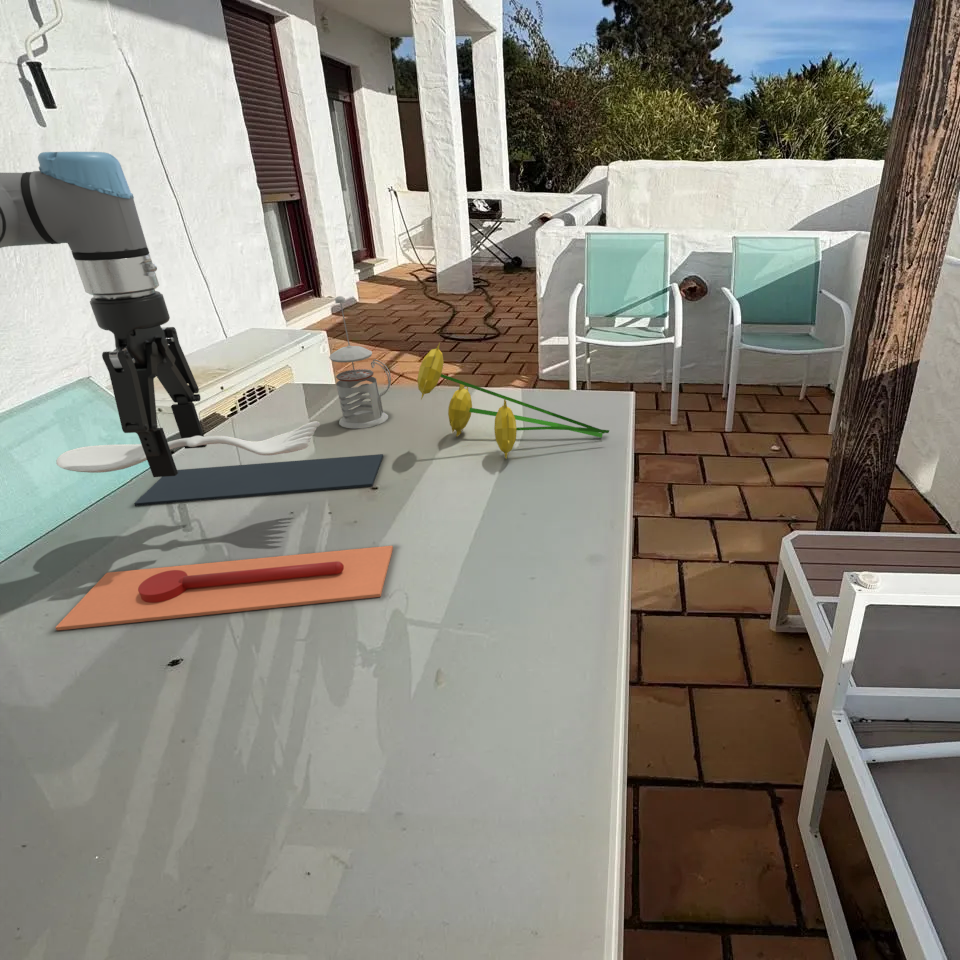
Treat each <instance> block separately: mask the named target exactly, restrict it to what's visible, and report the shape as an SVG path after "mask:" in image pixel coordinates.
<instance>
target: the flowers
mask: <svg viewBox="0 0 960 960" xmlns="http://www.w3.org/2000/svg"><path fill="white" fill-rule="evenodd" d="M440 345H441V342H438V345H437V346H436V348H431V349H430V351H428V352H427V354H426V355H424V357H423V359H422V361H421V363H420V366H419V369H418V373H417V374H418V375H417V389H418V391H419V392H420V393H421V398H420V401H422V400H423V398H424V395H427V394H430V393H431V392H432V391H433V390H434V389H435V388H436V387H437V385H438V384H439V381H440V378H442V379H445V380H448V381H450V382H453V383H456V384H459V387H458V389H457V390H455V391H454V392H453V395H452V397H451V399H450V400H449V404H448V409H447V415H448V422H449V426H450V427H451V432H452V434H454V432H455V431H456V433H455V434H456V438H458V437H459V436H460V435H461V434H462V430H464V429H465V428H466V427H467V425H468V423H469V421H470V419H471V417H472V413H473V414H479V415H485V416H490V417H494V427H493V428H494V429H493V430H494V438H495V442H496V445H497V446H498V448H499V451H501V452H503V455H504V458H505V460H506V461H507V458H508V454H509V453H510V452H511V451H512V450H513V448H514V446H515V443H516V441H517V432H518V431H542V430H544V431H545V430H552V431H556V430H557V431H571V432H575V433H579V434H584V435H588V436H593V437H597V438H601V439H602V438H603V434H609V433H610V429H600V428H599V427H595V426H593V425H590V424H587V423H584V422H580V421H578V420H575V419H573V418H569V417H566V416H563V415H561V414H557V413H555V412H553V411H549V410H546V409H544V408H540V407H538V406H535V405H532V404H529V403H527V402H523V401H521V400H518V399H515V398H512V397H509V396H507V395H503V394H501V393H498V392H494V391H492V390H489V389H487V388H484V387H481V386H479V385H478V386H477V385H475V384H472V383H469V382H466V381H463V380H461V379H457V378H455V377H452V376H449V375H446V374H443V367H444V363H445V362H444V356H443V355H444V354H443V352H442V351H441V350H440ZM465 387H466V388H465ZM469 388H471V389H474V390H476V391H480V392H482V393H485V394H488V395H491V396H494V397H497V398H499V399H503V405H502V406H501V407H499V408H498V410H497V411H495V410H486V409H481V408H474V407H473V401H472V396H471V393H470V392H469ZM507 401H508V402H511V403H514V404H517V405H520V406H523V407H525V408H528V409H531V410H535V411H537V412H539V413H540V412H541V413H543V414H546V415H548V416H551V417H554V418H558V419H560V420H563V421H566V422H569V423H572V424H575V425H577V426H572V425H567V424H563V423H558V422H553V421H548V420H543V419H537V418H533V417H527V416H523V415H517V414H514V413H513V410H512V409H511V407H509V406H507V405H508V403H507ZM517 421H521V422H526V423H532V424H536V425H542V426H524V427H523V426H522V427H517ZM579 426H580V427H579Z"/></svg>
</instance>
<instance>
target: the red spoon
mask: <svg viewBox="0 0 960 960" xmlns="http://www.w3.org/2000/svg"><path fill="white" fill-rule="evenodd" d="M343 569H344V566H343V564H342V563H341V562H339V561H336V562H325V563H315V564H305V565H294V566H284V567H274V568H263V569H253V570H243V571H232V572H222V573H212V574H201V575H191V576H188V575H187V573H186V572H184V571H181V570H170V571H165V572H161V573H158V574H156V575H153V576H151V577H149V578H148V579H146V580H145V581H143V582H142V583H141V584H140V586H139V587H138V591H139V594H140V596H141V599H142V600H143V601H145V602H149V603H157V602H163V601H166V600H170V599H172V598H175V597H177V596H179V595H180V594H182V593H183V592H185V591H186V590H187V589H191V588H201V587H211V586H221V585H231V584H242V583H252V582H262V581H272V580H282V579H292V578H302V577H312V576H322V575H332V574H339V573H341V572H342V571H343Z"/></svg>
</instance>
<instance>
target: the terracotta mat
mask: <svg viewBox="0 0 960 960" xmlns="http://www.w3.org/2000/svg"><path fill="white" fill-rule="evenodd" d="M393 550H394V546H393V545H383V546H374V547H362V548H351V549H342V550H341V549H340V550H332V551H321V552H320V551H319V552H311V553H300V554H299V553H298V554H290V555H288V554H287V555H279V556H278V555H277V556H267V557H258V558H257V557H256V558H247V559H246V558H245V559H236V560H226V561H215V562H205V563H195V564H183V565H173V566H162V567H151V568H141V569H132V570H119V571H110V572H109V571H107V572H106V573H105V574H104V575H103V576H102V577H101V578H100V579H99V580H98V582H96V583H95V585H94V586H92V588H91V589H90V590H89V591H88V592H87V593H86V594H85V595H84V596H83V597H82V598H81V599H80V600H79V602H78V603H77V604H76V605H74V607H73V608H72V609H71V610H70V611H69V612H68V613H67V614H66V615H65V616H64V618H63V619H62V620H61V621H60V622H59V623H58V624H57V625H56V626H55V630H56V631H66V630H76V629H85V628H87V629H88V628H96V627H105V626H106V627H107V626H113V625H124V624H132V623H145V622H152V621H153V622H154V621H162V620H173V619H182V618H191V617H201V616H211V615H219V614H229V613H230V614H231V613H238V612H239V613H240V612H250V611H258V610H259V611H260V610H267V609H278V608H287V607H298V606H304V605H305V606H306V605H315V604H316V605H317V604H325V603H336V602H344V601H345V602H346V601H353V600H364V599H373V598H381V596H382V593H383V589H384V585H385V581H386V577H387V574H388V570H389V566H390V563H391V562H390V561H391V559H392V558H391V557H392V555H393ZM336 561H339V562H341V563H342V564H343V566H344V569H343V571H342V572H341V573H339V574H332V575H322V576H312V577H302V578H292V579H282V580H272V581H262V582H252V583H242V584H231V585H221V586H211V587H201V588H191V589H187V590H186V591H185V592H183V593H182V594H180V595H179V596H177V597H175V598H172V599H170V600H166V601H163V602H157V603H149V602H145V601H143V600H142V599H141V596H140V594H139V591H138V587H139V586H140V584H141V583H142V582H143V581H145V580H146V579H148V578H149V577H151V576H153V575H156V574H158V573H161V572H165V571H170V570H181V571H184V572H186V573H187V575H188V576H191V575H201V574H212V573H222V572H232V571H243V570H253V569H263V568H274V567H284V566H294V565H305V564H315V563H325V562H336Z"/></svg>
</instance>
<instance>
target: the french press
mask: <svg viewBox="0 0 960 960" xmlns="http://www.w3.org/2000/svg"><path fill="white" fill-rule="evenodd" d="M334 302H335V304H340V309H341V314H342V319H343V324H344V329H345V330H344V331H345V334H346V339H347V340H346V341H347V343H348V344H347V345H346V346H343V347H341V348H339V349H337V350H335V351H334V352H332V353H331V354H330V355H329V357H328V359H329V360H330V361H332V362H334V363H351V364H352V369H349V370H345V371H341V372H338V373H337V374H336V376H335V379H337V380H338V381H337V382H336V383H335V386H336V390H337V396H338V400H339V405H340V409H341V414H342V417H341V418H340V419H339V422H338V425H339V426H341V427H343V428H347V429H366V428H370V427H371V428H372V427H374V426H379V425H381V424H383V423H385V422H386V421H387V420H388V419H389V415H388V414H387V413H386V412H384V409H383V402H382V397H383V396H385V395H386V394H387V392H388V391H389V390H390V388H391V384H392V377H391V372H390V369H389V368H388V367H387V365H386V364H385V363H383V361H381V360H378V359H376V358H375V359H373V360H372V361H371V363H370V365H371V368H372V369H374V368H375V365H378V366H380V367H381V368H382V369H383V371H384V372H385V374H386V376H387V387H386V389H385V390H384V391H382V392H379V386H378V382H377V378H376V377H374V371H373V370H372V369H366V368H358V369H356V368H355V366H354V363H355V362H361V361H364V360H367V359H369V358H371V357H372V356H373V351H372V350H370V349H368V348H366V347H364V346H359V345H350V340H349V334H348V329H347V324H346V320H345V315H344V309H343V305H342V304H344V303H346V302H347V301H346V298H345V297H344V296H342V295H337V296H336V297H335V298H334ZM366 381H367V382H370V383H363V382H366ZM360 383H362V384H360ZM358 384H360V385H359V386H356V385H358ZM355 386H356V387H355ZM353 394H355V395H353ZM367 394H369V395H367ZM352 395H353V396H352ZM349 396H350V397H349ZM365 400H366V401H365Z"/></svg>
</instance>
